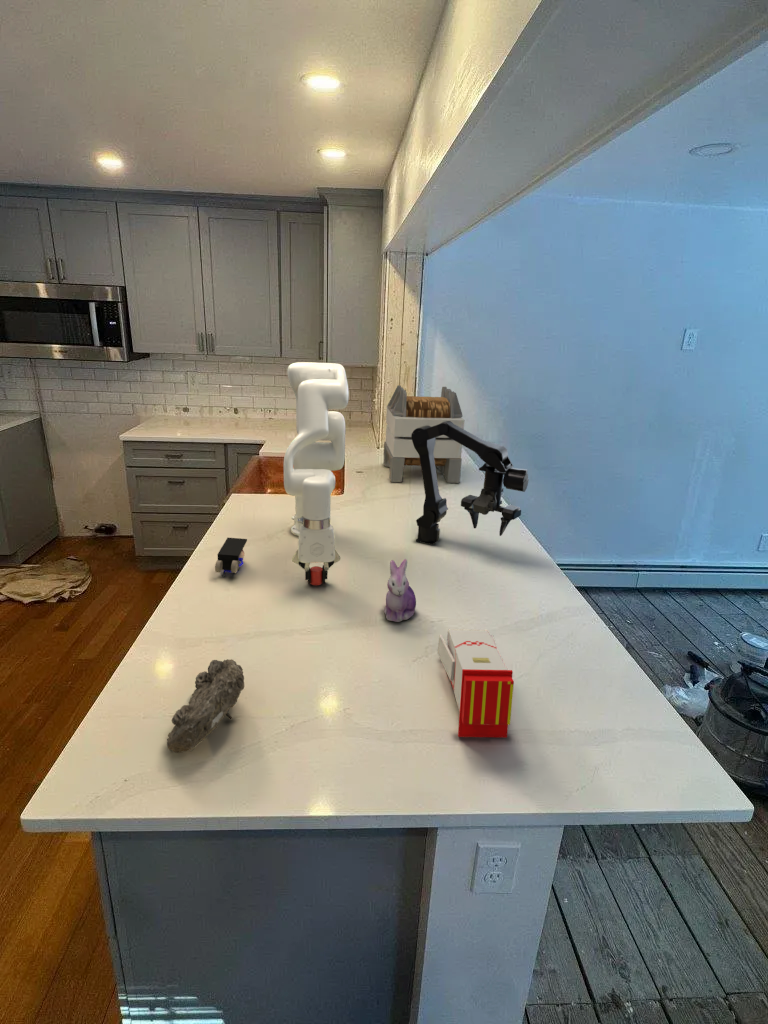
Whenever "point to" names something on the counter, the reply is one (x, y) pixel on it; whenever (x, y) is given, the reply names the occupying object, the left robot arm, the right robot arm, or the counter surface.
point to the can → (316, 575)
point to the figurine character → (230, 556)
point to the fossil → (206, 705)
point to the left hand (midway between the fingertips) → (316, 581)
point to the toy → (478, 682)
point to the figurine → (399, 594)
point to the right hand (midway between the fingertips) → (487, 531)
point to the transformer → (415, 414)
